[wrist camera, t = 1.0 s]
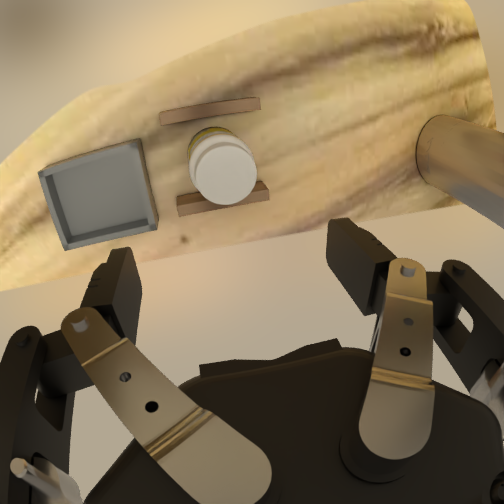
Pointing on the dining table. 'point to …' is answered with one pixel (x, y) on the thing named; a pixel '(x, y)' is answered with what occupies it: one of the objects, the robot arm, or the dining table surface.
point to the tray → (100, 195)
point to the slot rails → (197, 200)
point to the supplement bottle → (221, 166)
